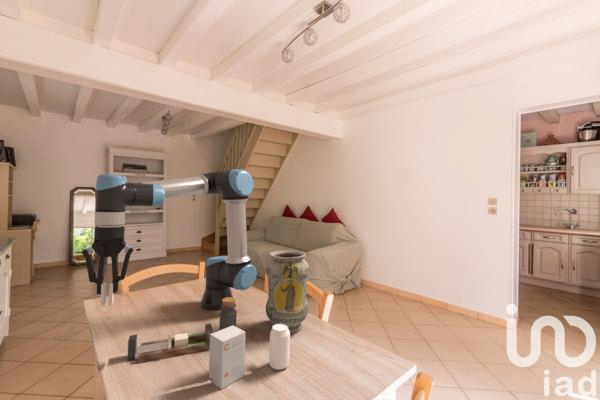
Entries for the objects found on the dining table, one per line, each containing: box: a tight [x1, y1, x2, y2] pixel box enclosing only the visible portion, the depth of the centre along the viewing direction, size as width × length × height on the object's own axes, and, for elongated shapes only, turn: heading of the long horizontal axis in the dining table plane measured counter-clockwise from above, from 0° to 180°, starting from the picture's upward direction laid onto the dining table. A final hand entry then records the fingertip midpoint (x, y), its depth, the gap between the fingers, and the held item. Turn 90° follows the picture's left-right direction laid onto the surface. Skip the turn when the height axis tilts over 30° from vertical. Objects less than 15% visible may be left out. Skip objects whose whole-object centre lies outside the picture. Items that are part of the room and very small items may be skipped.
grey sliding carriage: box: [127, 334, 172, 361], centre depth 87 cm, size 12×7×6 cm, turn 115°
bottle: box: [218, 297, 238, 331], centre depth 100 cm, size 6×6×15 cm
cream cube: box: [174, 332, 189, 348], centre depth 92 cm, size 4×4×4 cm
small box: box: [208, 325, 246, 390], centre depth 79 cm, size 8×6×13 cm
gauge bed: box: [137, 323, 215, 365], centre depth 92 cm, size 22×9×6 cm, turn 115°
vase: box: [265, 249, 310, 335], centre depth 113 cm, size 18×18×30 cm
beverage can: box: [268, 324, 291, 371], centre depth 86 cm, size 6×6×12 cm
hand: (107, 304), depth 83 cm, fingers closed
